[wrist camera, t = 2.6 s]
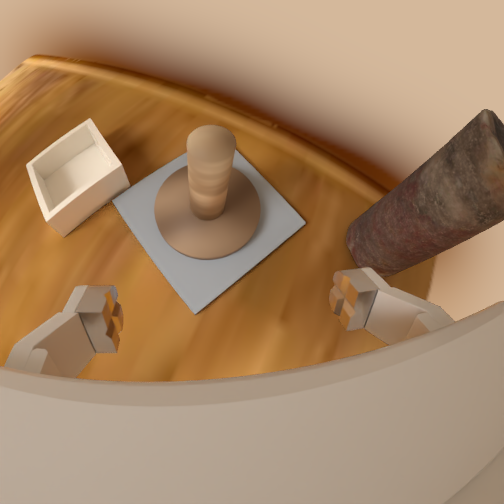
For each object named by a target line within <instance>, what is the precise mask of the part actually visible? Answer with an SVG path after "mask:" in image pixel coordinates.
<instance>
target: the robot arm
mask: <svg viewBox="0 0 504 504" xmlns="http://www.w3.org/2000/svg"><path fill="white" fill-rule="evenodd" d="M333 282H334V284H335V285H334V287H333V288H332V289H331V290H330V295H329V303H330V307H331V309H332V311H333V312H334V313H335V314H337V315H339V316H340V317H339V321H340V323H341V324H342V326H343V327H344V329H345V330H346V331H350V330H356V329H361V328H364V329H365V330H367V331H368V332H370V333H371V334H373V335H374V336H376V337H377V338H379V339H380V340H382V341H383V342H385V343H386V344H388V345H389V346H387V347H383V348H380V349H377V350H373V351H370V352H366V353H362V354H358V355H355V356H351V357H347V358H342V359H338V360H334V361H329V362H325V363H320V364H315V365H310V366H305V367H300V368H294V369H289V370H283V371H277V372H270V373H263V374H256V375H249V376H240V377H231V378H221V379H209V380H194V381H172V382H124V381H102V380H88V379H77V378H76V376H77V375H78V374H79V373H80V372H81V371H82V369H83V368H84V367H85V366H86V365H87V364H88V362H89V361H90V360H91V359H92V358H93V357H94V356H95V354H96V353H117V351H118V346H119V341H120V338H119V335H118V334H119V333H120V332H121V331H122V328H123V312H122V308H121V305H120V304H119V303H118V302H117V301H116V300H117V297H118V294H117V290H116V287H115V286H114V285H90V286H89V285H82V286H76V287H75V289H74V291H73V292H72V294H71V296H70V298H69V300H68V302H67V304H66V306H65V308H64V310H63V311H62V313H57V314H56V315H54V316H53V317H51V318H50V319H49V320H47V321H46V322H44V323H43V324H42V325H40V326H39V327H37V328H36V329H35V330H33V331H32V332H31V333H29V334H28V335H27V336H25V337H24V338H23V339H21V340H20V341H19V342H17V343H16V344H15V345H14V347H13V349H12V351H11V353H10V355H9V357H8V359H7V361H6V363H5V366H4V367H3V366H0V504H504V301H500V302H497V303H495V304H494V305H491V306H490V307H487V308H485V309H483V310H481V311H479V312H477V313H475V314H472V315H470V316H468V317H466V318H463V319H461V320H459V321H456V322H455V321H454V320H453V319H452V318H451V317H450V316H449V315H448V314H447V313H446V312H445V311H444V310H443V309H442V308H441V307H440V306H437V305H435V304H432V303H430V302H428V301H426V300H423V299H421V298H419V297H416V296H414V295H411V294H409V293H407V292H404V291H402V290H399V289H397V288H395V287H392V288H391V287H390V286H389V285H388V284H387V283H386V282H385V281H384V280H383V279H382V278H381V277H380V276H379V275H378V274H377V273H376V272H375V271H374V270H373V269H372V268H370V267H364V268H358V269H350V270H342V271H336V272H335V274H334V277H333Z"/></svg>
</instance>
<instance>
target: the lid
mask: <svg viewBox="0 0 504 504" xmlns="http://www.w3.org/2000/svg"><path fill="white" fill-rule="evenodd" d="M235 149H236V139H235V137H234V135H233V134H232V133H231V132H230V131H229V130H228V129H226V128H224V127H221V126H217V125H205V126H201V127H199V128H197V129H195V130H194V131H192V132H191V134H190V135H189V136H188V139H187V163H188V165H187V166H184V167H182V168H180V169H178V170H177V171H175V172H174V173H172V174H171V175H170V176H169V177H168V178H167V179H166V180H165V181H164V183H163V184H162V186H161V187H160V189H159V191H158V193H157V196H156V199H155V205H154V214H155V220H156V223H157V226H158V229H159V231H160V233H161V235H162V237H163V238H164V240H165V241H166V242H167V243H168V244H169V245H170V246H171V247H172V248H173V249H174V250H176V251H177V252H179V253H180V254H183V255H185V256H187V257H190V258H193V259H199V260H215V259H220V258H224V257H227V256H229V255H231V254H233V253H235V252H237V251H238V250H240V249H241V248H242V247H243V246H244V245H246V243H247V242H248V241H249V240H250V239H251V237H252V235H253V234H254V232H255V230H256V227H257V225H258V222H259V219H260V212H261V206H260V199H259V196H258V193H257V191H256V189H255V187H254V186H253V184H252V183H251V181H250V180H249V179H248V178H247V177H246V176H245V175H244V174H243V173H241V172H240V171H238V170H237V169H235V168H233V167H232V164H233V159H234V154H235Z"/></svg>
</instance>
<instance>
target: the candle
mask: <svg viewBox="0 0 504 504" xmlns="http://www.w3.org/2000/svg"><path fill="white" fill-rule="evenodd" d="M503 220H504V125H503V123H502V122H501V120H500V119H498V117H497V116H496V114H495V113H494V112H493V111H490V110H488V109H484V110H482V111H481V112H480V113H479V114H478V115H477V116H476V117H475V118H474V119H472V120H471V121H470V122H469V123H468V124H467V125H466V126H465V127H464V128H463V129H462V130H461V131H460V132H458V133H457V134H456V135H455V136H454V137H453V138H452V139H451V140H450V141H449V142H448V143H447V144H446V145H444V147H442V148H441V149H440V150H439V151H437V152H436V153H435V154H434V155H433V156H432V157H431V158H429V159H428V160H427V161H426V162H425V163H424V164H422V165H421V166H420V167H419V168H418V169H417V170H415V171H414V172H413V173H412V174H411V175H410V176H408V178H406V179H405V180H404V181H403V182H402V183H400V184H399V185H398V186H397V187H395V188H394V189H393V190H392V191H390V192H389V193H388V194H387V195H386V196H384V197H383V198H382V199H380V200H379V201H378V202H377V203H375V204H374V205H373V206H372V207H371V208H369V209H368V210H367V211H366V212H365V213H363V214H362V215H361V216H359V217H358V218H357V219H356V220H355V221H354V222H353V223H352V224H351V225H350V226H349V229H348V233H347V238H346V243H347V246H348V248H349V249H350V252H351V254H352V256H353V258H354V260H355V262H356V264H357V266H358V267H360V268H364V267H370V268H372V269H373V270H374V271H375V272H376V273H377V274H378V275H379V276H390V275H393V274H395V273H398V272H400V271H402V270H404V269H407V268H409V267H411V266H414V265H416V264H418V263H420V262H423V261H425V260H427V259H429V258H431V257H433V256H435V255H437V254H439V253H441V252H443V251H445V250H448V249H450V248H452V247H454V246H456V245H458V244H460V243H462V242H464V241H466V240H468V239H470V238H472V237H473V236H475V235H477V234H479V233H481V232H483V231H485V230H487V229H489V228H491V227H492V226H494V225H496V224H498V223H500V222H501V221H503Z"/></svg>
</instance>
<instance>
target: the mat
mask: <svg viewBox="0 0 504 504" xmlns="http://www.w3.org/2000/svg"><path fill="white" fill-rule="evenodd" d="M187 165H188V163H187V152H186V153H184V154H183V155H181V156H179V157H178V158H176V159H174V160H173V161H171V162H169V163H168V164H166V165H164V166H163V167H161V168H160V169H158V170H156V171H155V172H153V173H152V174H150V175H149V176H147V177H146V178H144V179H143V180H141V181H140V182H138V183H137V184H135V185H134V186H132V187H131V188H129V189H128V190H126V191H125V192H123V193H122V194H121V195H119V196H118V197H116V198H115V199H114V200H112V202H113V203H114V205H115V207H116V208H117V210H118V211H119V213H120V214H121V216H122V217H123V219H124V220H125V222H126V223H127V225H128V226H129V228H130V229H131V231H132V232H133V233H134V235H135V236H136V238H137V239H138V241H139V242H140V243H141V245H142V246H143V248H144V249H145V251H146V252H147V253H148V255H149V256H150V257H151V259H152V260H153V262H154V263H155V264H156V266H157V267H158V268H159V270H160V271H161V272H162V274H163V275H164V276H165V278H166V279H167V280H168V282H169V283H170V284H171V285H172V287H173V288H174V289H175V291H176V292H177V293H178V294H179V296H180V297H181V298H182V299H183V301H184V302H185V303H186V304H187V306H188V307H189V308H190V309H191V311H192V312H193V313H194V314H195V315H196V314H197V313H198V312H199V311H201V310H202V309H203V308H204V307H206V306H207V305H208V304H209V303H210V302H212V301H213V300H214V299H215V298H217V297H218V296H219V295H220V294H222V293H223V292H224V291H225V290H226V289H228V288H229V287H230V286H231V285H233V284H234V283H235V282H236V281H237V280H239V279H240V278H241V277H242V276H243V275H245V274H246V273H247V272H248V271H250V270H251V269H252V268H253V267H254V266H256V265H257V264H258V263H259V262H260V261H262V260H263V259H264V258H265V257H266V256H268V255H269V254H270V253H271V252H272V251H274V250H275V249H276V248H277V247H278V246H280V245H281V244H282V243H283V242H284V241H286V240H287V239H288V238H289V237H290V236H292V235H293V234H294V233H295V232H296V231H298V230H299V229H300V228H301V227H302V226H304V225H305V223H306V222H305V221H304V220H303V219H302V218H301V217H300V216H299V214H298V213H297V212H296V211H295V210H294V209H293V208H292V207H291V206H290V205H289V204H288V203H287V202H286V200H285V199H284V198H283V197H282V196H281V195H280V194H279V193H278V192H277V191H276V190H275V189H274V188H273V187H272V186H271V185H270V184H269V183H268V182H267V181H266V180H265V179H264V177H263V176H262V175H261V174H260V173H259V172H258V171H257V170H256V169H255V168H254V167H253V166H252V165H251V164H250V163H249V162H248V161H247V160H246V159H245V158H244V157H243V156H242V155H241V154H240V153H239V152H238V151H237V150H236V149H235V154H234V159H233V164H232V167H233V168H235V169H237V170H238V171H240V172H241V173H243V174H244V175H245V176H246V177H247V178H248V179H249V180H250V181H251V183H252V184H253V186H254V187H255V189H256V191H257V193H258V196H259V199H260V206H261V212H260V219H259V222H258V225H257V227H256V230H255V232H254V234H253V235H252V237H251V239H250V240H249V241H248V242H247V243H246V245H244V246H243V247H242V248H241V249H240V250H238V251H237V252H235V253H233V254H231V255H229V256H227V257H224V258H220V259H215V260H199V259H193V258H190V257H187V256H185V255H183V254H180V253H179V252H177V251H176V250H174V249H173V248H172V247H171V246H170V245H169V244H168V243H167V242H166V241H165V240H164V238H163V237H162V235H161V233H160V231H159V229H158V226H157V223H156V220H155V214H154V205H155V199H156V196H157V193H158V191H159V189H160V187H161V186H162V184H163V183H164V181H165V180H166V179H167V178H168V177H169V176H170V175H171V174H172V173H174V172H175V171H177V170H178V169H180V168H182V167H184V166H187Z"/></svg>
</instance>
